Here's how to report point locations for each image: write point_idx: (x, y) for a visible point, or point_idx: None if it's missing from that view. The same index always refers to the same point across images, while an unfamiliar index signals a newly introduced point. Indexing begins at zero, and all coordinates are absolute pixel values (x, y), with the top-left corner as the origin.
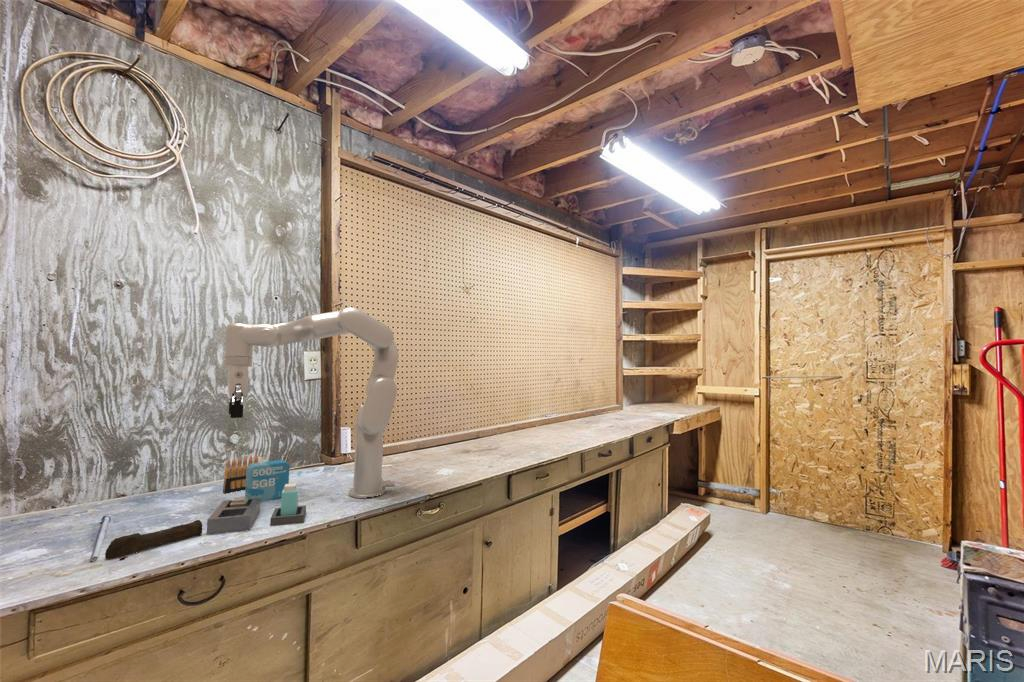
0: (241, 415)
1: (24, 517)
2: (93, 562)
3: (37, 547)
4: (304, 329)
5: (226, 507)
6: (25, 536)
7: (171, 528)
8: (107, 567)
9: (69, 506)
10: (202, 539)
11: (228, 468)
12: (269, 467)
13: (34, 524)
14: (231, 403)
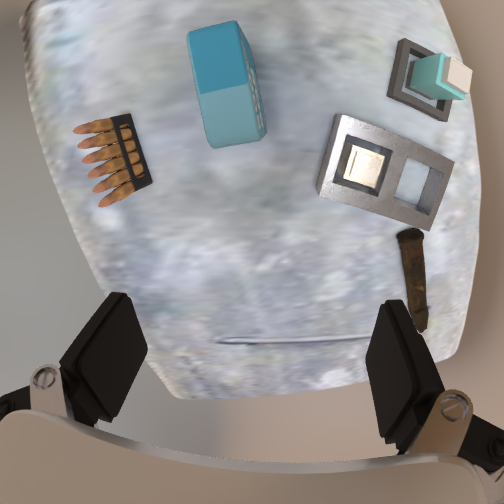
0: (404, 315)
1: (186, 392)
2: None
3: (317, 377)
4: None
5: (362, 191)
6: (265, 389)
7: (415, 276)
8: (438, 316)
9: (154, 367)
10: (432, 226)
11: (119, 194)
12: (249, 79)
13: (220, 387)
14: (113, 405)
